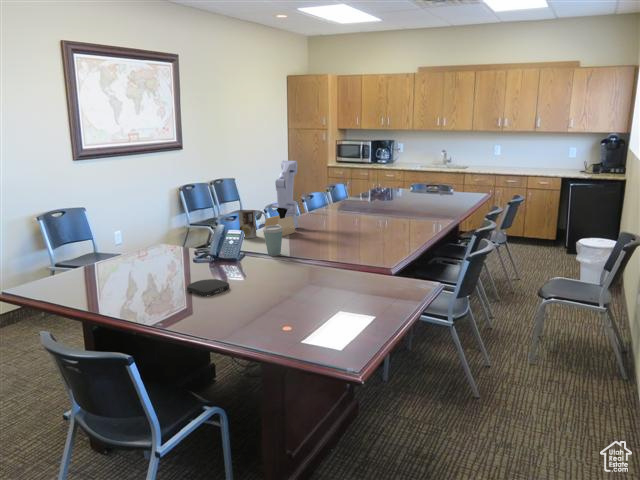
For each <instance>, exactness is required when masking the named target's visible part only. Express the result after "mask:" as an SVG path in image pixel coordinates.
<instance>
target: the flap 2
mask: <svg viewBox="0 0 640 480" xmlns="http://www.w3.org/2000/svg"><path fill="white" fill-rule="evenodd" d="M277 221H278V224H277V225H280V226H282V228H283V229H284V228H288V227H291V226H294V221H293V217H292V216H290V217H286V218H282V219H278V220H277Z"/></svg>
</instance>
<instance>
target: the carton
mask: <svg viewBox="0 0 640 480" xmlns="http://www.w3.org/2000/svg"><path fill="white" fill-rule="evenodd" d="M295 233H296V228H295V226H291V227H288V228H284V229H283V231H282V237H285V236H289V235H291V234H295Z"/></svg>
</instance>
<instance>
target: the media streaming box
mask: <svg viewBox="0 0 640 480" xmlns="http://www.w3.org/2000/svg"><path fill="white" fill-rule="evenodd" d="M228 289H229V290H230V283H229V282H227V281H225V280H222V279H217V278H215V279H214V278H213V279H200V280H197V281H193V282H192V283H189V284H188V285H187V286H186V291H187V292H188V291H189V292H188V293H190V292H192V293H191V294H193V293H196V294H198V295H197V296H199V295H201V297H208V296H207V295H211V296H214V295H213V294H215V295H217V294H216V293H218V294H220V292H221V293H224V292H227V291H229V290H228ZM226 290H227V291H226ZM223 291H224V292H223ZM196 294H195V295H196Z"/></svg>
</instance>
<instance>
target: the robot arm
mask: <svg viewBox="0 0 640 480" xmlns="http://www.w3.org/2000/svg"><path fill="white" fill-rule="evenodd" d="M280 165H281V172H280V173H279V176H278V178H277V179H276V180H275V190H276V203H277V204H271V208H272V209H276V212H277V213H278V215H279V216H280V219H282V218H286V217H290V216H292V217H293V221H294V226H295V229H297V228H299V219H298V218H299V217H298V215H297V213H298V203H297V202H296V201H295V200H294V184H295V183H294V181H295V176H296V175H297V174H298V166H299V165H298V161H297V160H282V161H281V164H280Z"/></svg>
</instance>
